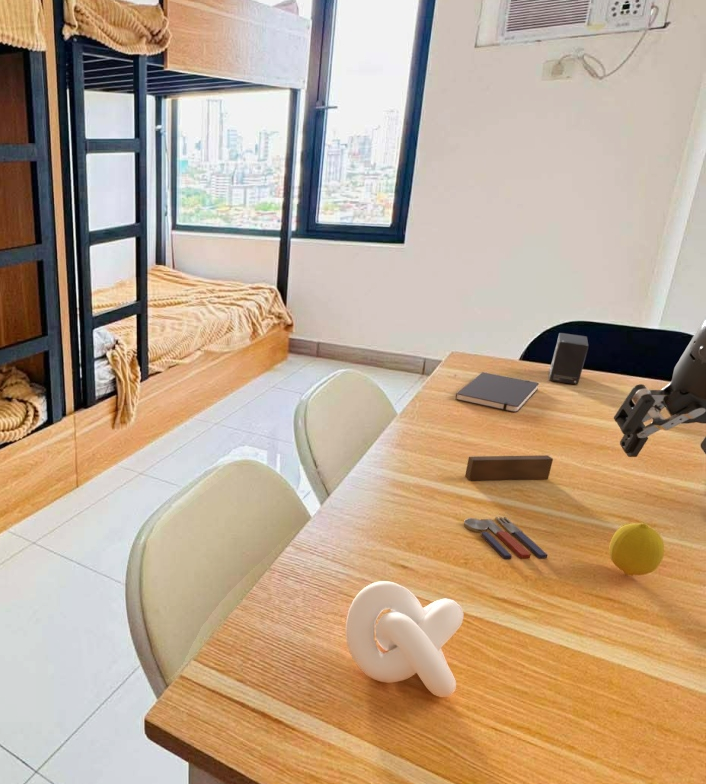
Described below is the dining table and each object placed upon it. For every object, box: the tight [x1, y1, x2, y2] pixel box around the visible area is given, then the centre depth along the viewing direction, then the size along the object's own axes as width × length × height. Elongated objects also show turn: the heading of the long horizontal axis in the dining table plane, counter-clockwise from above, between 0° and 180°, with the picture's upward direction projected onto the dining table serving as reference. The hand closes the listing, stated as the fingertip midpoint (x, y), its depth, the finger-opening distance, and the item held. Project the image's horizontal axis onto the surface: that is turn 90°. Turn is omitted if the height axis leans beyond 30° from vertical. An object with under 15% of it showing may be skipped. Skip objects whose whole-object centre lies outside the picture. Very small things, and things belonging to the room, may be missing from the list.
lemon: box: [608, 522, 665, 577], centre depth 83 cm, size 6×6×8 cm
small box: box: [548, 332, 589, 385], centre depth 159 cm, size 11×6×10 cm, turn 147°
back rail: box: [464, 454, 554, 481], centre depth 110 cm, size 14×2×4 cm, turn 91°
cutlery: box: [463, 516, 549, 560], centre depth 93 cm, size 10×8×1 cm
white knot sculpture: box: [345, 580, 465, 699], centre depth 67 cm, size 11×12×9 cm
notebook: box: [455, 371, 540, 413], centre depth 150 cm, size 13×2×21 cm
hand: (667, 452), depth 77 cm, fingers open, 8 cm apart
